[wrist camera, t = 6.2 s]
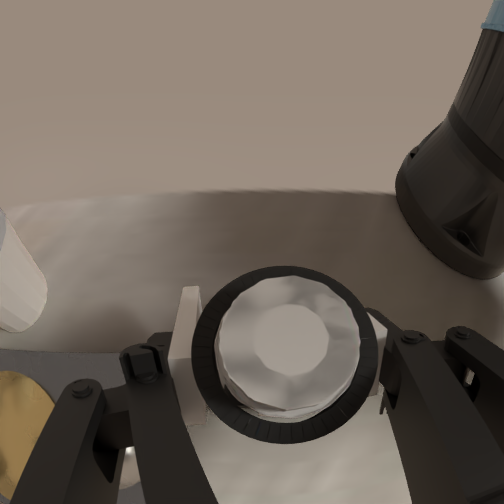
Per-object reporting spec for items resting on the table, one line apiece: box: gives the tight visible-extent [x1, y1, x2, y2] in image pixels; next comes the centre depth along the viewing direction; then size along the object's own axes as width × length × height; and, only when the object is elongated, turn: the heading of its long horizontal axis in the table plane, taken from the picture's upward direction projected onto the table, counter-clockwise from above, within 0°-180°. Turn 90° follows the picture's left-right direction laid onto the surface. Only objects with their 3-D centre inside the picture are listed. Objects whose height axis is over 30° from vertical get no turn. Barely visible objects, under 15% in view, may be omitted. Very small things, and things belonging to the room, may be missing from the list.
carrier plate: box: [0, 349, 146, 504], centre depth 12 cm, size 15×11×4 cm
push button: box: [191, 266, 378, 444], centre depth 12 cm, size 7×5×10 cm
